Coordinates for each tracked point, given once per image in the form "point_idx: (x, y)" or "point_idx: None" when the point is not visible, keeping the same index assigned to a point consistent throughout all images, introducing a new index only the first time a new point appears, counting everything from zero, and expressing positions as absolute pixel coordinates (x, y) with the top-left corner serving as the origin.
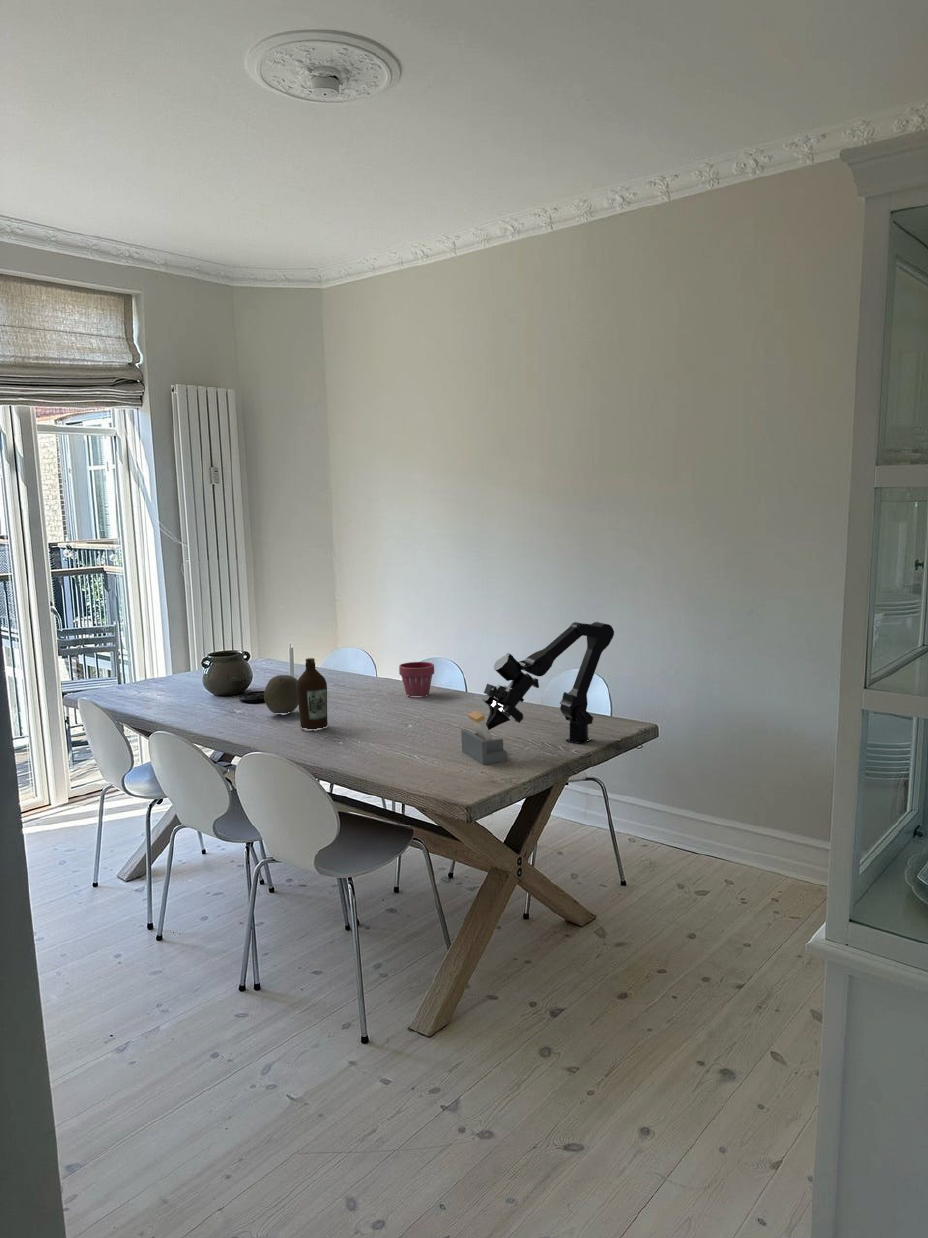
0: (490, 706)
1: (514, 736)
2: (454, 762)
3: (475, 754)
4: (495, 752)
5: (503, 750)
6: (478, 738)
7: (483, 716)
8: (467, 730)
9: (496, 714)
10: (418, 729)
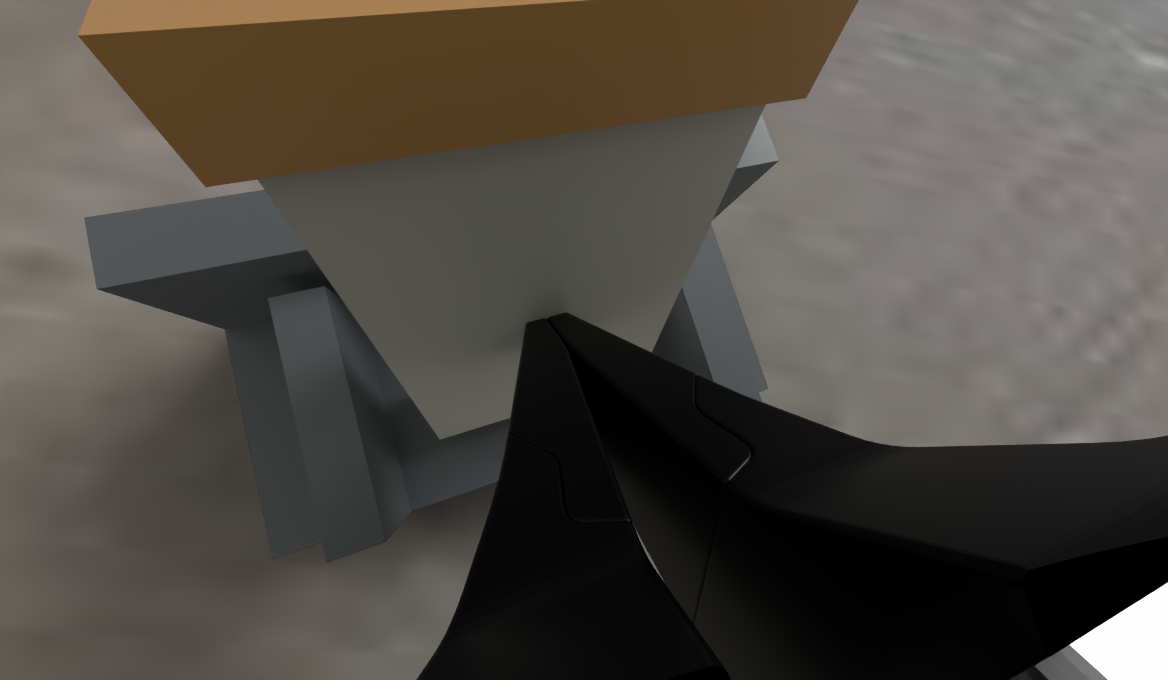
0: (1100, 498)
1: None
2: None
3: None
4: (261, 426)
5: (309, 523)
6: None
7: (129, 70)
8: None
9: (445, 664)
10: (1101, 83)
